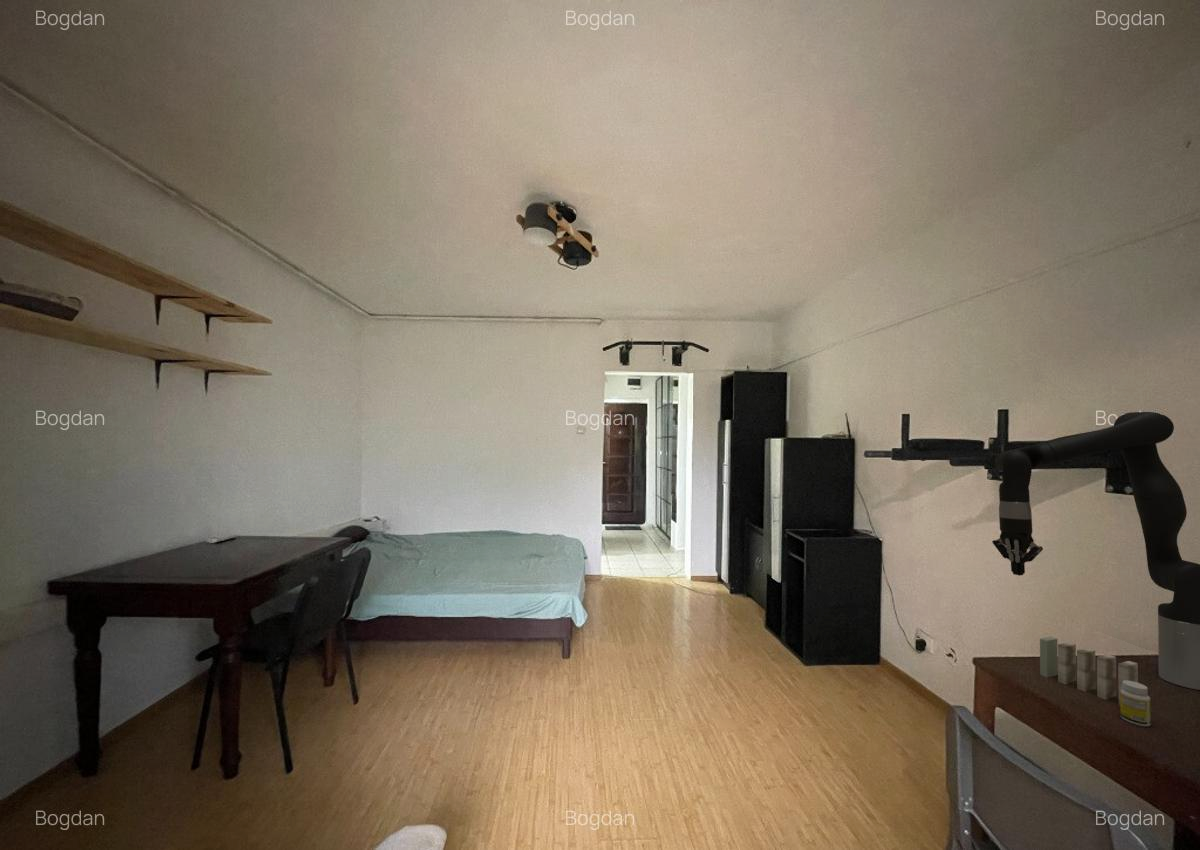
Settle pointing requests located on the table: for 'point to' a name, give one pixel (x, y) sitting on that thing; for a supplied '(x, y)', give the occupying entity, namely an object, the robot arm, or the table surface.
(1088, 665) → the domino
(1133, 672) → the domino
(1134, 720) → the supplement bottle
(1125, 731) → the table surface
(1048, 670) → the domino
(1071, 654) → the domino
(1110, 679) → the domino
